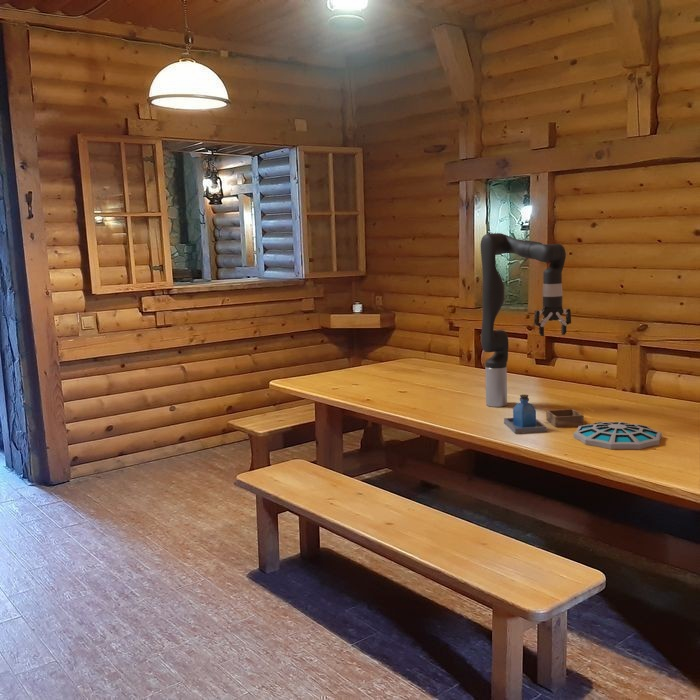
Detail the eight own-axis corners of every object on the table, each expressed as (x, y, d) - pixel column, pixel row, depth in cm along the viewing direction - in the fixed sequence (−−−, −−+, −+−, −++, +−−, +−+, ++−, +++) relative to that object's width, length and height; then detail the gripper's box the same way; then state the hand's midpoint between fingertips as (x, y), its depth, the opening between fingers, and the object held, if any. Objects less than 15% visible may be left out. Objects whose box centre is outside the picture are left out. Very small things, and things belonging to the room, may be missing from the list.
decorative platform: (558, 440, 266) (558, 427, 265) (596, 423, 286) (596, 411, 286) (641, 456, 244) (641, 441, 244) (676, 436, 264) (676, 423, 264)
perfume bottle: (513, 424, 286) (512, 394, 285) (526, 422, 289) (526, 392, 287) (522, 428, 281) (522, 397, 279) (535, 426, 283) (535, 395, 281)
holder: (546, 420, 294) (546, 410, 293) (573, 418, 294) (573, 408, 294) (555, 427, 283) (555, 417, 282) (583, 425, 283) (583, 415, 283)
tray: (504, 423, 292) (504, 418, 292) (533, 421, 293) (533, 416, 292) (515, 433, 276) (515, 428, 276) (546, 431, 277) (546, 426, 277)
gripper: (566, 293, 292) (566, 333, 295) (531, 295, 292) (532, 335, 294) (573, 294, 285) (573, 335, 288) (537, 296, 284) (538, 337, 287)
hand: (552, 335), depth 291 cm, fingers open, 8 cm apart
